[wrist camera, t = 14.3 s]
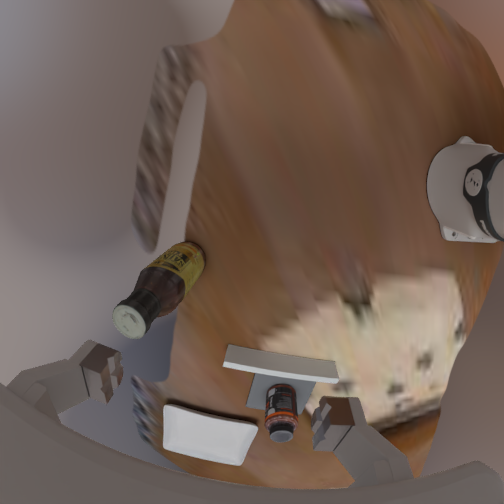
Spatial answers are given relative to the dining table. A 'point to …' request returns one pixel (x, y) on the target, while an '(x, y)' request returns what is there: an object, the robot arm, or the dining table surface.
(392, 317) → the dining table surface
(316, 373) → the acrylic wall
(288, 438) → the supplement bottle
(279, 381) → the rubber mat
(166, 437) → the salad plate
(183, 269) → the sauce bottle
